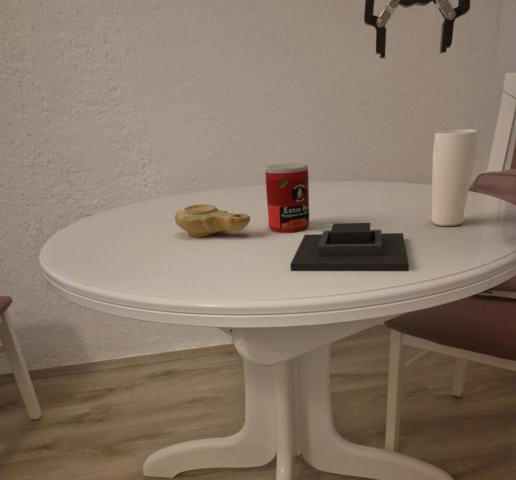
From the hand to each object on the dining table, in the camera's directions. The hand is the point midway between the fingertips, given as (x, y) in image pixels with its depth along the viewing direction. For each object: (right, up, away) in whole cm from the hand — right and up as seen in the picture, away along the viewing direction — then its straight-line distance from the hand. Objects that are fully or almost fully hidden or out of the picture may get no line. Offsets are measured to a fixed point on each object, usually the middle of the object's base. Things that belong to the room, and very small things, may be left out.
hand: (412, 55), depth 71 cm
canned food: (-17, -21, +20) cm, 33 cm away
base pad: (-9, -29, +2) cm, 30 cm away
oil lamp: (-31, -22, +19) cm, 43 cm away
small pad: (-9, -28, +2) cm, 29 cm away
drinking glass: (+11, -21, +15) cm, 28 cm away
